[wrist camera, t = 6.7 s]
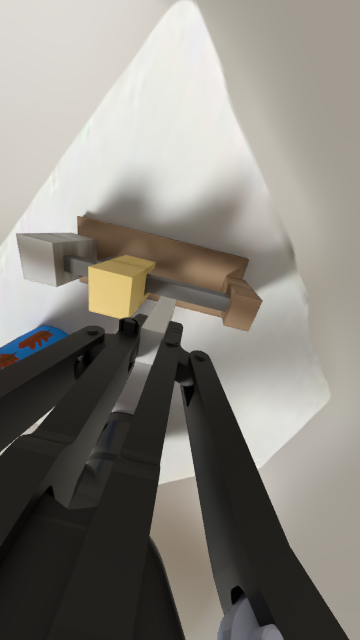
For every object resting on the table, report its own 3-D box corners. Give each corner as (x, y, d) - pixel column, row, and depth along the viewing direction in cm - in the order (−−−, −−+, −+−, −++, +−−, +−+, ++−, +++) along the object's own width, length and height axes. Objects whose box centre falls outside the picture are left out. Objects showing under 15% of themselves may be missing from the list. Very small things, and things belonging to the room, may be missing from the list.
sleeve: (150, 293, 26) (128, 320, 18) (123, 286, 26) (88, 310, 18) (155, 262, 24) (132, 277, 16) (126, 254, 24) (88, 266, 16)
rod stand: (228, 316, 32) (238, 351, 23) (78, 278, 32) (27, 297, 23) (250, 259, 27) (275, 273, 18) (75, 215, 27) (11, 206, 18)
